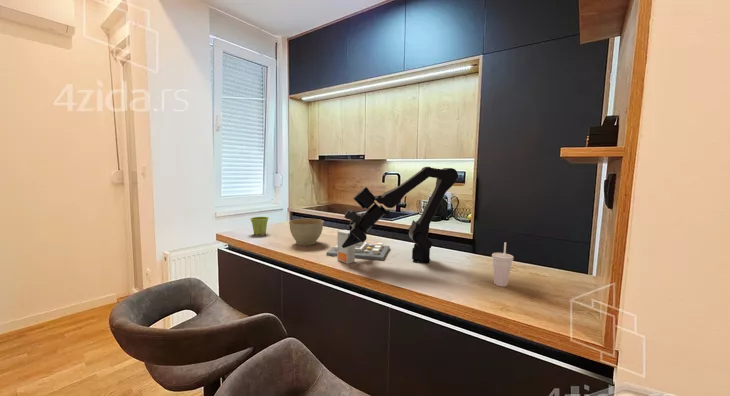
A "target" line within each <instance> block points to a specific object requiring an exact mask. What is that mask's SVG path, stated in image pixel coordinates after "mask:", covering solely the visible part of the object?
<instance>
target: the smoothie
mask: <svg viewBox="0 0 730 396" xmlns="http://www.w3.org/2000/svg"><path fill="white" fill-rule="evenodd" d="M491 258H492V263H493V264H492V265H493V281H494V282H493V284H494V285H495V284H496V285H495V286H498V287H503V288H504V287H507V286H508V282H509V277H510V274H511V273H510V272H511V267H512V263H513V261H514V255H512V254H509V253H507V242H504V244H503V252H493V253H492V254H491Z"/></svg>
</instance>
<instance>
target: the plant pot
mask: <svg viewBox="0 0 730 396" xmlns="http://www.w3.org/2000/svg"><path fill="white" fill-rule="evenodd" d="M269 219H270V218H269V217H268V216H254V217H250V218H249V220H250V221H251V226H252V230H253V235H255V236H259V235H260V236H262V234H263V235H266V233H267V229H268V228H267V227H268V220H269Z"/></svg>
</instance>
